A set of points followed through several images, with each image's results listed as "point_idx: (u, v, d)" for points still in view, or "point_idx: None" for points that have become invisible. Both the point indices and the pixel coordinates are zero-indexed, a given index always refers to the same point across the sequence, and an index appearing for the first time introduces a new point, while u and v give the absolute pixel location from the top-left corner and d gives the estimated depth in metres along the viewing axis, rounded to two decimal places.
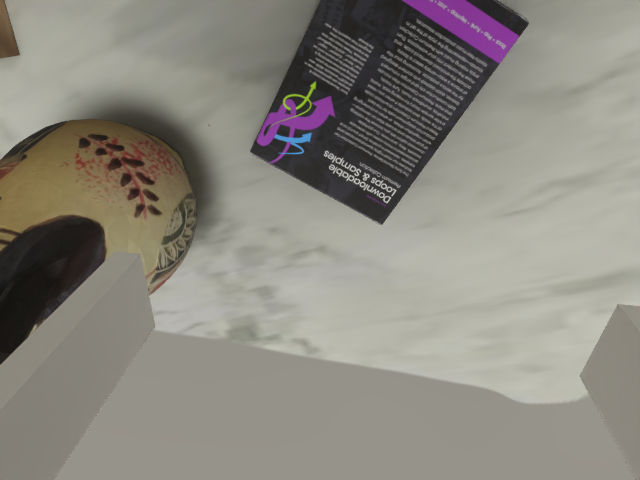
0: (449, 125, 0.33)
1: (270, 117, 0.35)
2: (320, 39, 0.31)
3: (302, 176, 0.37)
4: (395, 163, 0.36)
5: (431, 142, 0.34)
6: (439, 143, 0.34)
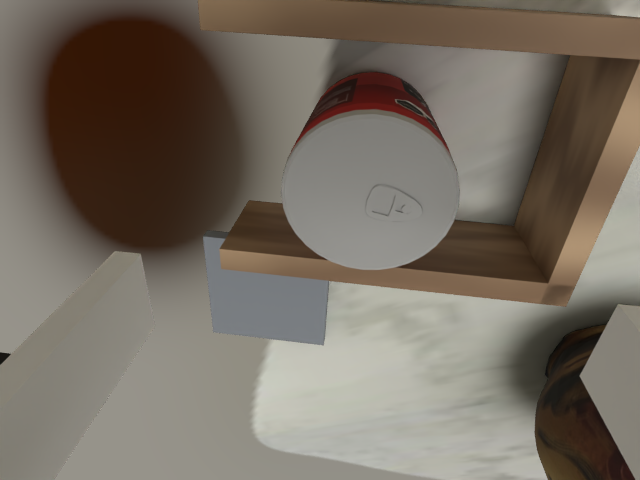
0: None
1: None
2: None
3: None
4: None
5: None
6: None
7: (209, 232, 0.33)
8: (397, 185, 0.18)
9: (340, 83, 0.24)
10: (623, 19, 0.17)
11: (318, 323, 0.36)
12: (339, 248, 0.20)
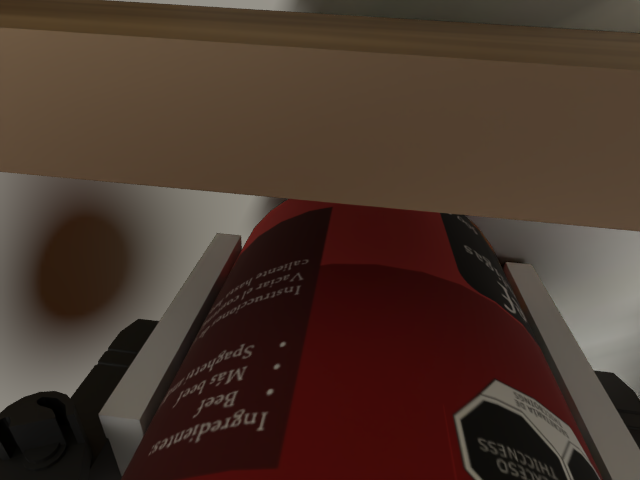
0: None
1: None
2: None
3: None
4: None
5: None
6: None
7: None
8: None
9: (291, 215, 0.10)
10: None
11: None
12: None
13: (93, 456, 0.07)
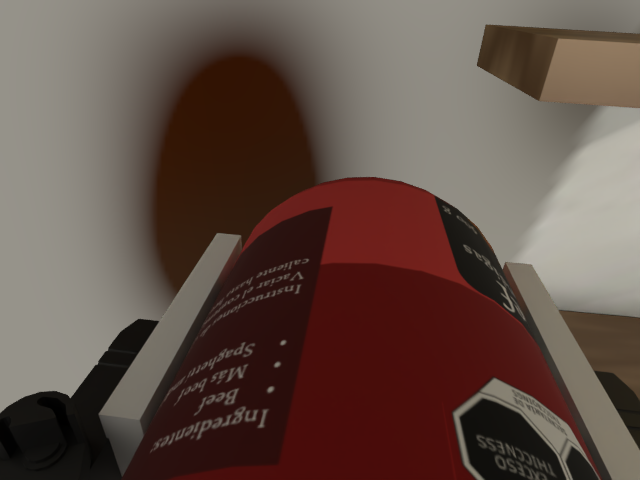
0: None
1: None
2: None
3: None
4: None
5: None
6: None
7: None
8: None
9: (291, 215, 0.10)
10: None
11: None
12: None
13: (93, 456, 0.07)
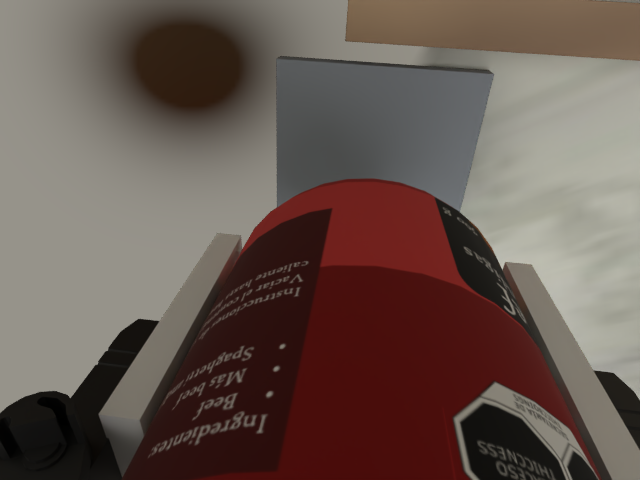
0: None
1: None
2: None
3: None
4: None
5: None
6: None
7: (285, 57, 0.20)
8: None
9: (290, 216, 0.10)
10: None
11: None
12: None
13: (93, 456, 0.07)
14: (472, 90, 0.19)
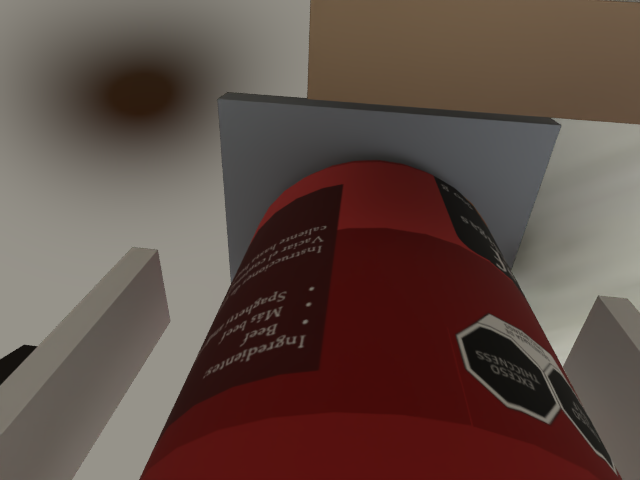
0: None
1: None
2: None
3: None
4: None
5: None
6: None
7: (234, 95, 0.13)
8: None
9: (305, 192, 0.11)
10: None
11: None
12: None
13: None
14: (525, 148, 0.12)
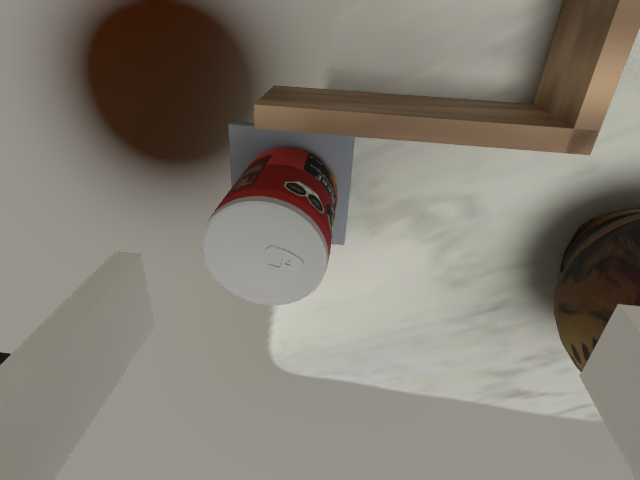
0: None
1: None
2: None
3: None
4: None
5: None
6: None
7: (234, 122, 0.33)
8: (283, 247, 0.26)
9: (260, 157, 0.32)
10: None
11: (339, 219, 0.36)
12: (247, 289, 0.27)
13: None
14: (344, 143, 0.33)
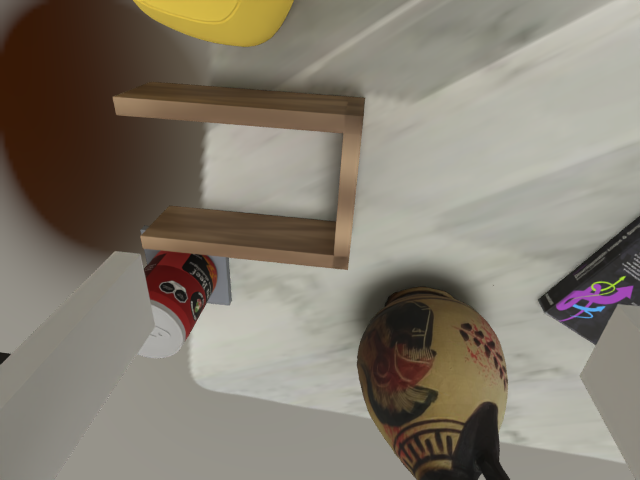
0: None
1: (576, 293, 0.45)
2: None
3: (582, 332, 0.47)
4: None
5: None
6: None
7: (145, 227, 0.49)
8: (156, 325, 0.41)
9: (159, 254, 0.47)
10: (328, 114, 0.34)
11: (223, 289, 0.52)
12: None
13: None
14: None
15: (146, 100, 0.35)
